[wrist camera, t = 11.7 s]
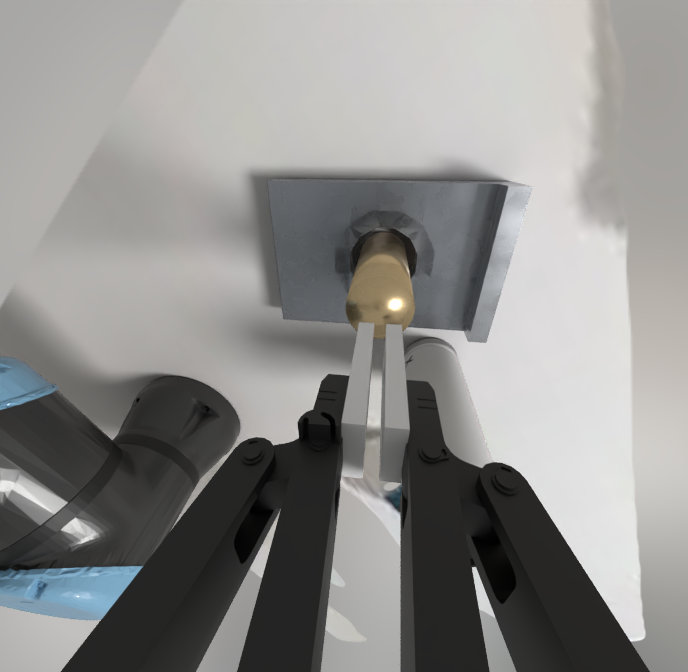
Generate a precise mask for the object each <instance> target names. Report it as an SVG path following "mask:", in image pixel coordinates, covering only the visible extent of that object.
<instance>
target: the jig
mask: <svg viewBox="0 0 688 672" xmlns="http://www.w3.org/2000/svg"><path fill="white" fill-rule="evenodd" d="M267 184H268V192H269V201H270V209H271V218H272V226H273V235H274V243H275V252H276V261H277V269H278V278H279V286H280V295H281V303H282V312H283V319H289V320H305V321H320V322H336V323H350V322H349V320H348V318H347V315H346V300H347V297H348V293H349V290H350V286H351V283H352V279H353V276H354V273H355V269H356V267H355V265H354V263H353V247H354V245H355V244H356V242H357V240H358V239H359V237H361V236H362V235H364V234H366V233H368V232H370V231H371V230H373V229H375V228H394V229H396V230H398V231H399V232H401V233H402V234H404V235H406V236H407V237H409V238H410V239H411V241H412V243H413V246H414V248H415V257H414V264H413V266H412V267H411V268H410V270H409V273H410V279H411V285H412V291H413V297H414V303H415V312H414V316H413V319H412V321H411V323H410V324H409V326H408V327H414V328H429V329H445V330H460V331H464V333H465V335H466V337H467V340H468V341H469V342H483V343H486V341H487V338H488V335H489V331H490V328H491V325H492V321H493V318H494V315H495V311H496V308H497V304H498V301H499V298H500V294H501V291H502V288H503V284H504V281H505V278H506V274H507V271H508V268H509V264H510V261H511V258H512V254H513V251H514V247H515V244H516V241H517V237H518V234H519V231H520V227H521V224H522V221H523V217H524V214H525V211H526V207H527V204H528V201H529V197H530V194H531V190H532V186H528V185H524V184H519V183H515V182H511V181H434V180H355V179H272V180H268V181H267Z"/></svg>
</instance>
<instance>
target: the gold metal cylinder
mask: <svg viewBox="0 0 688 672" xmlns="http://www.w3.org/2000/svg"><path fill="white" fill-rule="evenodd" d="M414 312H415V303H414V297H413V291H412V285H411V279H410V273H409V267H408V261H407V256H406V250H405V246H404V244H403V242H402V241H401V239H400V238H399V237H397V236H396V235H394V234H392V233H389V232H379V233H376V234H373V235H372V236H370V237H369V238H368V239H367V240H366V241H365V242H364V244H363V246H362V248H361V252H360V255H359V259H358V262H357V266H356V269H355V273H354V276H353V279H352V283H351V286H350V290H349V293H348V297H347V300H346V315H347V318H348V320H349V322H350V324H351V325H352V326H353V327H354V328H355V329H356V330H357V331H358V325H359V322H364V323H374V336H373V338H376V339H384V338H385V333H386V324H395V325H402V331H404V330H405V329H406V328H407V327H408V326H409V324H410V323H411V321H412V319H413V316H414Z"/></svg>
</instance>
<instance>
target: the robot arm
mask: <svg viewBox="0 0 688 672" xmlns="http://www.w3.org/2000/svg"><path fill="white" fill-rule="evenodd" d="M373 336H374V323H364V322H359V325H358V331H357V337H356V342H355V348H354V354H353V360H352V365H351V371H350V376H346V375H334V374H328V375H327V376H326V377H325V378H324V379H323V380H322V382H321V385H320V388H319V392H318V395H317V400H316V402H315V405H314V409H313V410H311V411H308V412H306V413H305V414H304V415H302V416H301V418H300V419H299V421H298V431H299V438H298V439H297V440H295V441H293V442H289V443H285V444H279V445H274V446H273V445H272V443H271V442H270V441H269V440H267V439H265V438H258V437H256V438H251V439H248V440H246V441H244V442H242V443H240V444H239V445H238V446H237V447H236V448H235V449H234V451H233V452H232V453H231V454H230V456H229V457H228V458H227V460H226V461H225V462H224V463H223V465H222V466H221V467H220V468H219V470H218V471H217V472H216V474H215V475H214V476H213V477H212V479H211V480H210V481H209V483H208V484H207V485H206V486H205V488H204V489H203V490H202V492H201V493H200V494H199V495H198V497H197V498H196V499H195V500H194V502H193V503H192V504H191V506H190V507H189V508H188V509H187V511H186V512H185V513H184V515H183V516H182V517H181V519H180V520H179V521H178V522H177V524H176V525H175V526H174V528H173V529H172V527H173V525H174V524H175V522H176V520H177V519H178V517H179V515H180V513H181V511H182V510H183V508H184V506H185V504H186V503H187V501H188V499H189V497H190V496H191V494H192V492H193V490H194V489H195V487H196V485H197V484H198V482H199V480H200V479H201V478H202V477H203V476H204V475H205V474H206V473H207V472H208V471H209V470H210V469H211V468H212V467H213V466H214V465H215V464H216V463H217V462H218V461H219V460H220V459H221V458H222V457H223V456H224V455H226V454H227V453H228V452H229V451H230V450H231V448H232V447H233V445H234V443H235V441H236V439H237V437H238V435H239V433H240V421H239V418H238V415H237V413H236V411H235V410H234V408H233V407H232V405H231V404H230V403H229V402H228V401H227V400H226V399H225V398H224V397H223V396H222V395H220V394H219V393H218V392H216V391H215V390H213V389H212V388H210V387H208V386H206V385H204V384H202V383H200V382H197V381H195V380H191V379H188V378H183V377H163V378H159V379H156V380H154V381H152V382H151V383H150V384H148V385H147V386H146V387H145V388H144V389H143V390H142V391H141V392H140V393H139V394H138V396H137V397H136V398H135V400H134V402H133V405H132V408H131V410H130V411H129V413H128V415H127V417H126V419H125V421H124V423H123V425H122V427H121V429H120V431H119V433H118V435H117V436H116V437H115V438H114V439H113V440H111V439H110V438H109V437H108V436H107V435H106V434H104V433H103V432H102V431H101V430H100V429H99V428H98V427H97V426H96V425H95V424H93V423H92V422H91V421H90V420H89V419H88V418H87V417H86V416H85V415H84V414H83V413H81V412H80V411H79V410H78V409H77V408H76V407H75V406H74V405H73V404H72V403H70V402H69V401H68V400H67V399H66V398H65V397H64V396H63V395H62V394H61V393H59V392H58V391H57V390H58V389H59V387H58V386H57V385H55V384H50V383H49V382H48V381H47V380H45V379H44V378H43V377H42V376H40V375H39V374H38V373H37V372H36V371H34V370H33V369H32V368H31V367H29V366H28V365H27V364H26V363H24V362H23V361H20V360H18V359H15V358H10V357H0V606H4V607H8V608H13V609H17V610H21V611H26V612H31V613H36V614H42V615H48V616H54V617H61V618H69V619H79V620H101V619H102V620H101V621H100V622H99V624H98V625H97V626H96V627H95V629H94V630H93V631H92V632H91V634H90V635H89V636H88V637H87V639H86V640H85V642H84V643H83V644H82V645H81V646H80V648H79V649H78V650H77V652H76V653H75V654H74V656H73V657H72V658H71V659H70V660H69V662H68V663H67V664H66V666H65V667H64V668H63V669H62V671H61V672H196V670H197V668H198V667H199V664H200V663H201V661H202V659H203V657H204V655H205V653H206V651H207V649H208V647H209V645H210V643H211V642H212V640H213V638H214V636H215V634H216V632H217V630H218V628H219V626H220V624H221V622H222V620H223V619H224V616H225V615H226V613H227V611H228V609H229V607H230V605H231V603H232V601H233V599H234V597H235V595H236V594H237V591H238V590H239V588H240V586H241V584H242V582H243V580H244V578H245V576H246V574H247V572H248V570H249V569H250V567H251V565H252V563H253V561H254V559H255V557H256V555H257V553H258V551H259V549H260V547H261V546H262V544H263V542H264V540H265V538H266V536H267V534H268V532H269V530H270V528H271V526H272V524H273V522H274V521H275V519H276V517H277V515H278V513H279V511H280V509H281V511H280V515H279V519H278V522H277V526H276V530H275V533H274V537H273V541H272V545H271V548H270V552H269V556H268V559H267V563H266V567H265V570H264V574H263V578H262V582H261V585H260V589H259V593H258V597H257V600H256V604H255V608H254V611H253V615H252V619H251V622H250V626H249V630H248V633H247V637H246V641H245V645H244V648H243V652H242V656H241V660H240V663H239V667H238V670H237V672H320V670H321V662H322V652H323V643H324V635H325V626H326V617H327V607H328V598H329V589H330V580H331V571H332V562H333V552H334V543H335V534H336V525H337V515H338V507H339V497H340V480H341V473H342V476H346V477H355V478H363V467H364V454H365V442H366V429H367V417H368V405H369V392H370V380H371V367H372V352H373ZM401 479H402V494H401V499H400V505H399V510H398V511H400V512H401V672H489V666H488V660H487V654H486V648H485V643H484V637H483V631H482V625H481V619H480V614H479V608H478V602H477V596H476V590H475V584H474V578H473V573H472V567H471V561H470V555H469V550H470V552H471V555H472V557H473V560H474V563H475V565H476V568H477V570H478V573H479V576H480V578H481V581H482V583H483V586H484V588H485V591H486V594H487V596H488V599H489V601H490V604H491V607H492V609H493V612H494V614H495V617H496V619H497V622H498V625H499V627H500V630H501V632H502V635H503V637H504V640H505V643H506V645H507V648H508V650H509V653H510V656H511V658H512V661H513V663H514V666H515V668H516V671H517V672H650V671H649V670H648V668H647V667H646V665H645V664H644V662H643V661H642V659H641V657H640V656H639V654H638V653H637V651H636V650H635V648H634V647H633V645H632V643H631V642H630V640H629V639H628V637H627V636H626V634H625V633H624V631H623V629H622V628H621V626H620V625H619V623H618V622H617V620H616V619H615V617H614V615H613V614H612V612H611V611H610V609H609V608H608V606H607V605H606V603H605V601H604V600H603V598H602V597H601V595H600V594H599V592H598V591H597V589H596V587H595V586H594V584H593V583H592V581H591V580H590V578H589V577H588V575H587V574H586V572H585V570H584V569H583V567H582V566H581V564H580V563H579V561H578V560H577V558H576V556H575V555H574V553H573V552H572V550H571V549H570V547H569V546H568V544H567V542H566V541H565V539H564V538H563V536H562V535H561V533H560V532H559V530H558V528H557V527H556V525H555V524H554V522H553V521H552V519H551V518H550V516H549V514H548V513H547V511H546V510H545V508H544V507H543V505H542V504H541V502H540V500H539V499H538V497H537V496H536V494H535V493H534V491H533V490H532V488H531V486H530V485H529V483H528V482H527V480H526V479H525V478H524V477H523V476H522V475H521V473H519V472H518V471H517V470H515V469H514V468H512V467H511V466H508V465H506V464H503V463H497V462H492V463H488V464H485V465H484V466H483V468H480V467H478V466H475V465H473V464H470V463H467V462H465V461H463V460H461V459H459V458H458V457H456V456H455V455H454V454H453V453H452V452H451V451H450V449H449V448H448V447H447V446H446V444H445V441H444V437H443V432H442V427H441V421H440V416H439V411H438V406H437V402H436V396H435V390H434V389H433V388H432V386H431V385H430V384H429V383H428V382H427V381H415V380H406V373H405V359H404V346H403V333H402V325H395V324H386V333H385V345H384V356H383V368H382V401H381V435H380V469H379V480H380V481H388V482H397V483H401ZM171 529H172V530H171ZM468 547H469V549H468Z"/></svg>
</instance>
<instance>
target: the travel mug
mask: <svg viewBox="0 0 688 672" xmlns="http://www.w3.org/2000/svg"><path fill="white" fill-rule="evenodd" d="M404 359H405V373H406V380H415V381H427V382H428V383H429V384H430V385H431V386H432V388H433V389H434V390H435V396H436V402H437V406H438V411H439V416H440V421H441V427H442V432H443V437H444V441H445V444H446V446H447V447H448V448H449V449H450V451H451V452H452V453H453V454H454V455H455V456H456V457H458V458H459V459H461V460H463V461H465V462H467V463H470V464H473V465H475V466H478V467H480V468H483V466H484V465H485V464H488V463H492V462H493V460H492V457H491V454H490V451H489V448H488V445H487V442H486V439H485V436H484V433H483V431H482V428H481V425H480V422H479V419H478V416H477V413H476V410H475V407H474V404H473V401H472V398H471V395H470V392H469V389H468V386H467V383H466V380H465V377H464V374H463V371H462V368H461V366H460V363H459V360H458V357H457V354H456V352H455V350H454V348H453V347H452V346H451V345H450V344H448V343H447V342H445V341H443V340H439V339H433V338H429V339H422V340H419V341H416V342H415V343H413V344H411V345H410V346H409V347H408V348H407V349H406V350H405V352H404ZM468 549H469V547H468ZM469 555H470V561H471V567H476V565H475V563H474V560H473V557H472V555H471V552H470V550H469Z"/></svg>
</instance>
